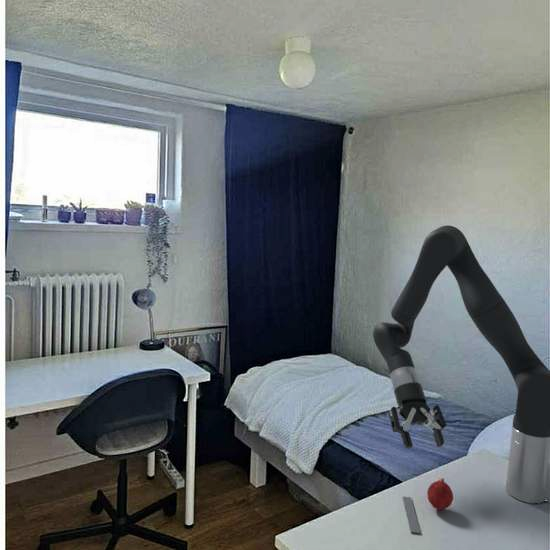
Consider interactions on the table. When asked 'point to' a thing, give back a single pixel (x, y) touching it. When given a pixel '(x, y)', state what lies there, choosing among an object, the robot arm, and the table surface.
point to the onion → (440, 494)
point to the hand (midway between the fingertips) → (425, 446)
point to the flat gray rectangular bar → (411, 515)
